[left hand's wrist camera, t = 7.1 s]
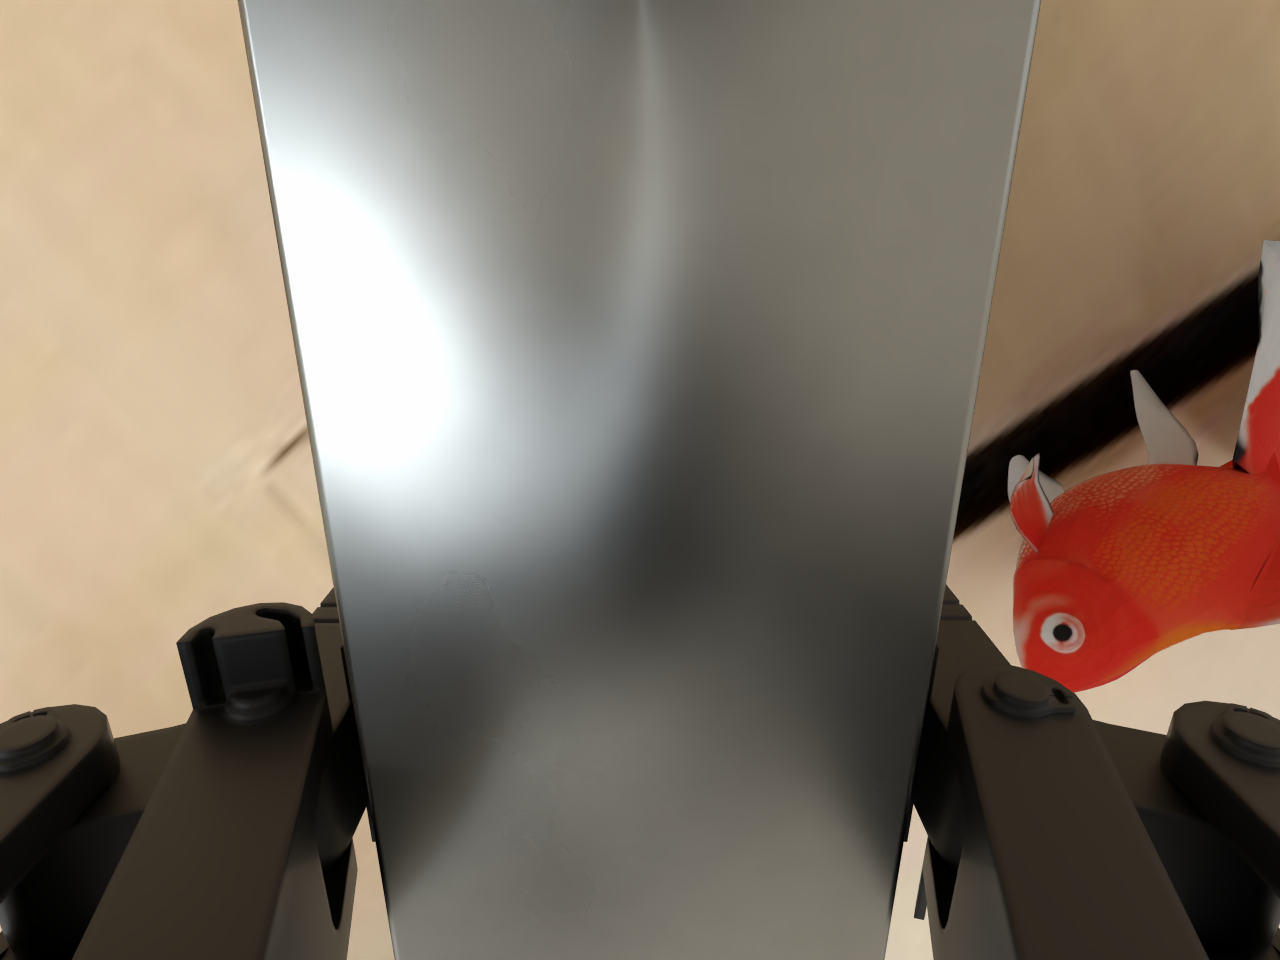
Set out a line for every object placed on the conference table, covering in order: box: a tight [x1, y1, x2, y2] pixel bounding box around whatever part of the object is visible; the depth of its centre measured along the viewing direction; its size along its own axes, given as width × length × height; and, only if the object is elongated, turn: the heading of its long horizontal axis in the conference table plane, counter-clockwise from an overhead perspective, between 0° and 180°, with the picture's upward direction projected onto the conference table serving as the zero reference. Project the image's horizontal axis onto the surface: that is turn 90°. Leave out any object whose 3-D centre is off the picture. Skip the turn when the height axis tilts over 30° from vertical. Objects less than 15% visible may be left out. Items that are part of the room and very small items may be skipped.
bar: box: [238, 0, 1041, 960], centre depth 8 cm, size 22×5×9 cm, turn 0°
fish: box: [1008, 240, 1280, 693], centre depth 20 cm, size 11×16×10 cm
